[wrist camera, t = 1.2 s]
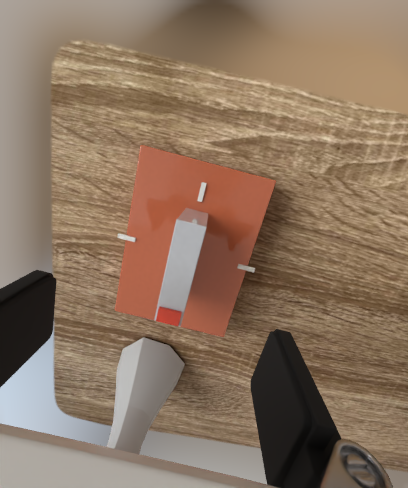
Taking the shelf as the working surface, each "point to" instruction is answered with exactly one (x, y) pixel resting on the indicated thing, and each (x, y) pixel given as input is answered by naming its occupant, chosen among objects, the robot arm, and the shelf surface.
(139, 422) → the flask
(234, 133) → the shelf surface
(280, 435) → the robot arm
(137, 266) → the panel
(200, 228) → the tap handle
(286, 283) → the shelf surface
